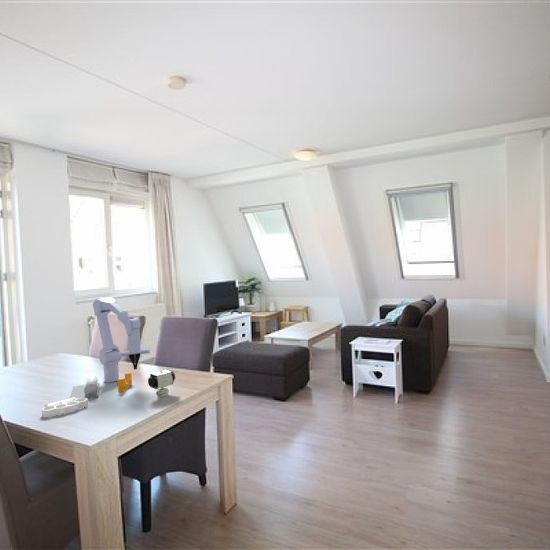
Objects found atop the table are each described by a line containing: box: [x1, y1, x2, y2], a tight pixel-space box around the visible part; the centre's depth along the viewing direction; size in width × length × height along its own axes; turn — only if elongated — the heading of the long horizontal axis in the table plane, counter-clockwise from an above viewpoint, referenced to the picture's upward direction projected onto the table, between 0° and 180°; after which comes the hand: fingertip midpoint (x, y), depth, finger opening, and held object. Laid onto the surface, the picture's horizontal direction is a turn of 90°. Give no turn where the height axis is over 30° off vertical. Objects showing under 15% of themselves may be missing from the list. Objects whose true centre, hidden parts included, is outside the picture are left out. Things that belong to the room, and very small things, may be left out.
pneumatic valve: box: [147, 369, 176, 398], centre depth 187 cm, size 6×12×12 cm, turn 138°
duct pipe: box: [69, 375, 100, 400], centre depth 196 cm, size 22×12×6 cm, turn 22°
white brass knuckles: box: [41, 397, 89, 418], centre depth 174 cm, size 3×18×15 cm
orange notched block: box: [117, 371, 133, 393], centre depth 201 cm, size 12×4×6 cm, turn 1°
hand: (135, 368), depth 205 cm, fingers closed
